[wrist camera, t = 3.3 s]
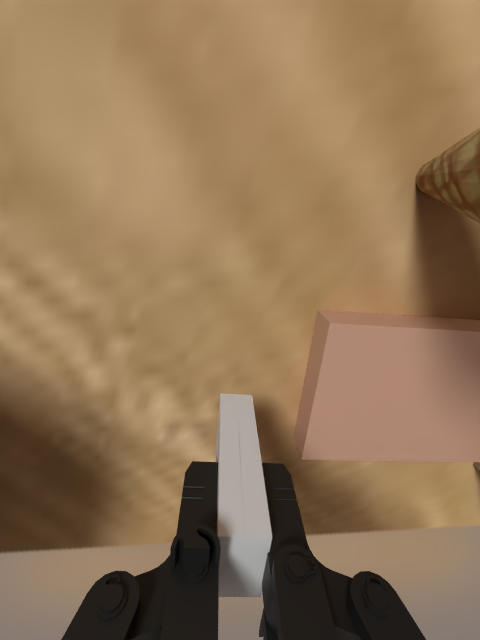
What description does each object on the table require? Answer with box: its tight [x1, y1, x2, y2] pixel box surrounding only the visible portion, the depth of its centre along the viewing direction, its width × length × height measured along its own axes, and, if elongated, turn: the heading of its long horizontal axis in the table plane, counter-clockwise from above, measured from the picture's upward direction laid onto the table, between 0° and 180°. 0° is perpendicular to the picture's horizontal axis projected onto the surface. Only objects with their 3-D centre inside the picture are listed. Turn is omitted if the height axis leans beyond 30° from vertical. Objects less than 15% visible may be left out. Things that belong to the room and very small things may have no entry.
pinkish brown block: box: [294, 310, 480, 462], centre depth 19 cm, size 12×9×2 cm
